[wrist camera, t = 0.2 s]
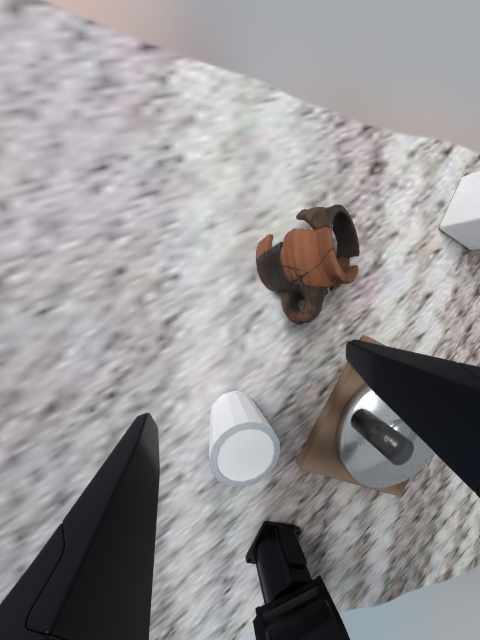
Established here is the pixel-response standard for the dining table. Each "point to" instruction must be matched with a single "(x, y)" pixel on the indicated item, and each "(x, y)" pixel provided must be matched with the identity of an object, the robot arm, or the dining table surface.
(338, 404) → the walnut board
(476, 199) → the medicine bottle
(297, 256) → the pottery mug
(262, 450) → the shot glass
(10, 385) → the dining table surface
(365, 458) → the handwheel
